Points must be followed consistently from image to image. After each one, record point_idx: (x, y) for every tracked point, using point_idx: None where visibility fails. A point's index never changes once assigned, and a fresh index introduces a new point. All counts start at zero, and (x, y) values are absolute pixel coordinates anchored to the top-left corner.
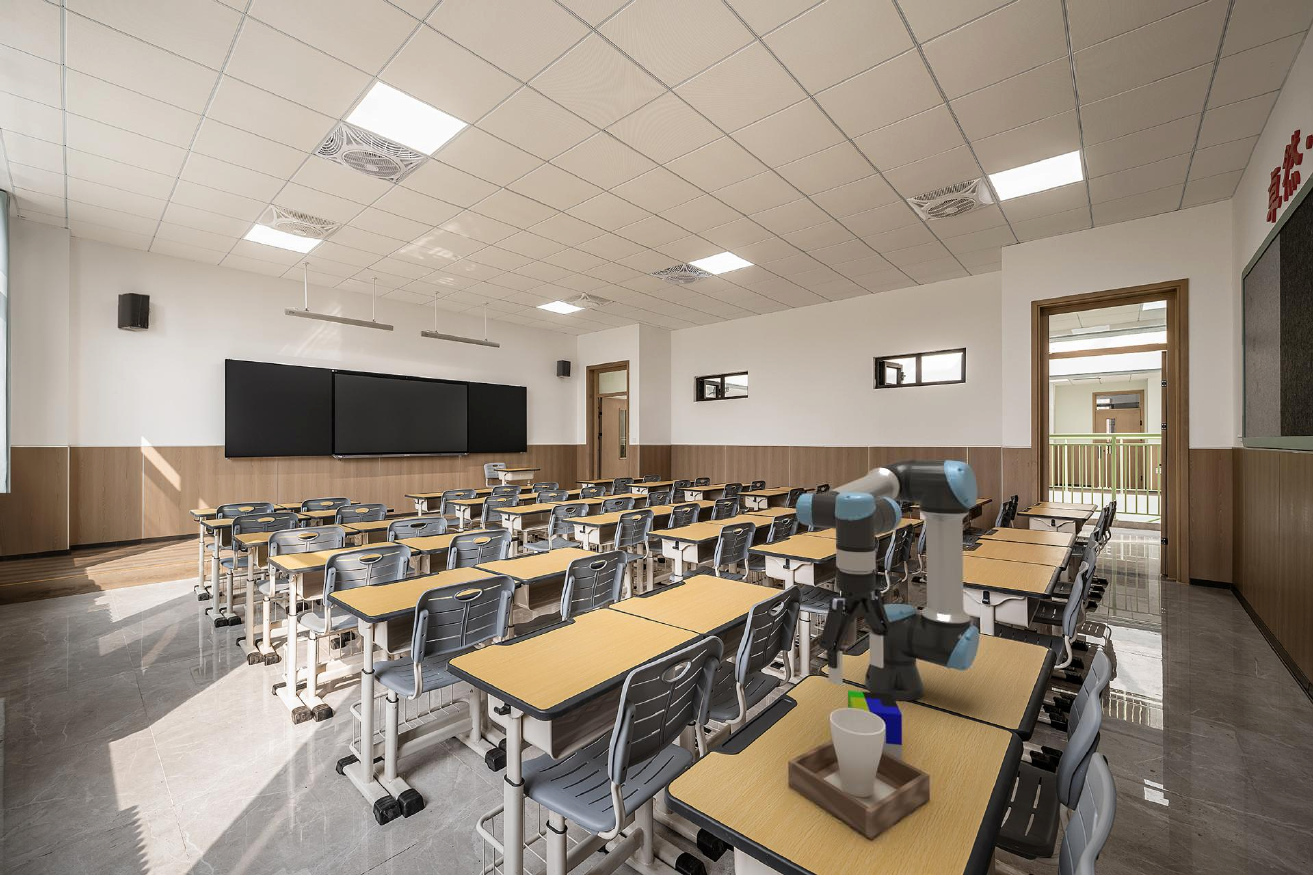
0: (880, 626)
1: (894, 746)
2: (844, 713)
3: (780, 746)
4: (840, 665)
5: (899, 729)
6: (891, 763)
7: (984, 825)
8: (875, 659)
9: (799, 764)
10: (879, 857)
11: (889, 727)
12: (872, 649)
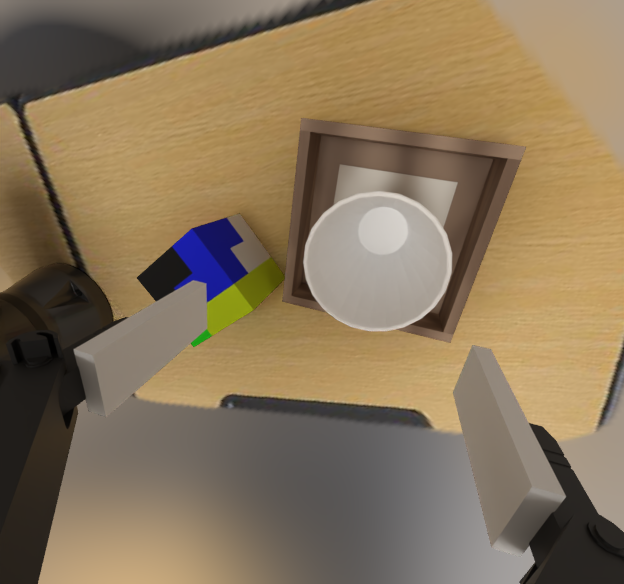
0: (18, 404)
1: (236, 228)
2: (338, 309)
3: (351, 370)
4: (520, 415)
5: (213, 226)
6: (305, 201)
7: (314, 8)
8: (191, 318)
9: (447, 323)
10: (546, 114)
11: (224, 243)
12: (166, 351)
